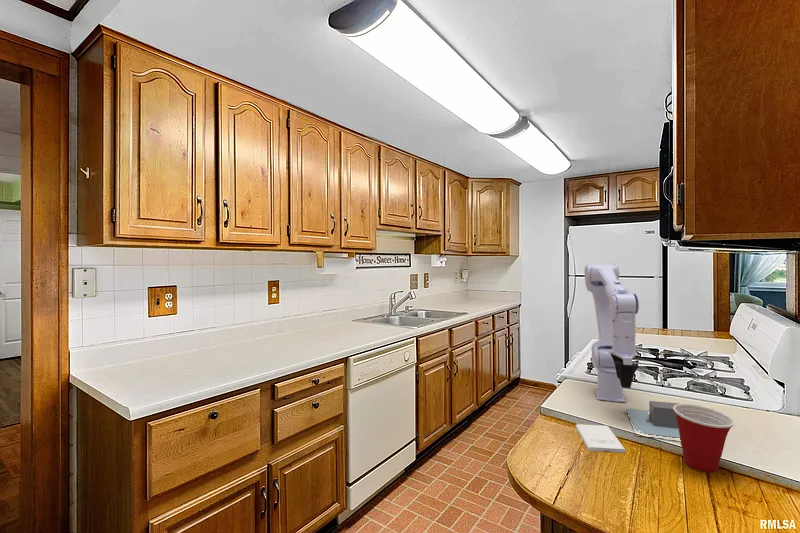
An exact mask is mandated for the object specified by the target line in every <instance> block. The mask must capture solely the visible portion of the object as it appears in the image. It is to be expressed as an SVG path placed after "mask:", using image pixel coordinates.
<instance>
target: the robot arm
mask: <svg viewBox="0 0 800 533" xmlns="http://www.w3.org/2000/svg"><path fill="white" fill-rule="evenodd" d="M619 279H620V267H619V265H617V264H616V263H611V264H610V263H609V264H608V263H607V264H605V263H604V264H601V263H599V264H598V263H597V264H590V263H587V264H586V265H585V267H584V282H585V287H586V290H587V291H589V292H591V294H592V298H593V301H594V307H595V308H594V309H595V315H596V323H597V331H598V339H597V340H596V341H595V342H593V344H592V346H591V362H592V365H593V367H594V368H595V369H597V388H594V391H595V397H596V399H597V400H599V401H609V402H616V403H617V402H618V403H627V400H626V397H625V394H624V389H631V387H632V383H633V380H634V379H633V378H634V376H635V374H636V372H637V370H638V368H639V364H638V363H633V359H634V358H635V357H636V356H637V351H636V315H637V314H638V313H639V309H640V300H639V297H638V295H637V293H634V292H630V291H629V290H628V288H627V286H626V285H625V283H624V282H622V281H621V280H619Z"/></svg>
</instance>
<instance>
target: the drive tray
mask: <svg viewBox="0 0 800 533" xmlns="http://www.w3.org/2000/svg"><path fill="white" fill-rule="evenodd" d="M626 411H627V413H628V415H629V418H630V420H631V422H632V424H633V426H634V429H636V431H639V430H640V431H641V432H640V433H644V434H648V435H656V436H663V437H670V438H671V437H672V438H680V435H679V429H678V428H670V427H661V426H654V425H653V424H652V422H651V413H650V412H649V410H646V409H637V408H636V409H634V408H627V407H626V409H625V412H626ZM627 413H626V414H627ZM628 415H627V416H628ZM629 418H628V419H629ZM630 420H629V421H630Z"/></svg>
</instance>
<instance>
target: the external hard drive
mask: <svg viewBox="0 0 800 533" xmlns="http://www.w3.org/2000/svg"><path fill="white" fill-rule="evenodd" d="M575 429H576V431H577V432H578V434H579V436H580V438H581V440H582V441H583V443H584V446H585V447H586V448H587V450H588V452H600V453H601V452H603V453H604V452H609V453H619V454H621V453H622V454H626V451H627V450H626V449H625V447H624V446H623V445H622V443H621V442H620V440H619V439H618V438H617V436H616V435H615V434H614V432H613V431H612V430H611V429H610V427H609V426H608V425H601V424H600V425H598V424H597V425H596V424H581V423H579V424H578V423H576V424H575Z"/></svg>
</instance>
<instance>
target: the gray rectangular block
mask: <svg viewBox="0 0 800 533" xmlns="http://www.w3.org/2000/svg"><path fill="white" fill-rule="evenodd" d="M648 404H649V409H648V411H649V412H650V413H651V422H652V424H653V425H654V426H661V427H670V428H678V423H677V418H676V414H675V412H674V410H673V407H674V405H677V404H681V403H680V402H679V403H677V402H668V401H667V402H666V401H657V400H655V401H654V400H649V402H648Z"/></svg>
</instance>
